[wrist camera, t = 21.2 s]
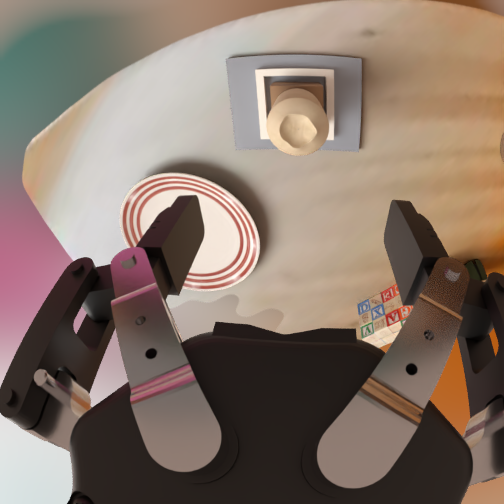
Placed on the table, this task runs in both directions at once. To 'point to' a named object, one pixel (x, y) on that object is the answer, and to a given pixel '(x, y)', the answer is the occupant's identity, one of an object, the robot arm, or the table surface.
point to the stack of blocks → (382, 317)
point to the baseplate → (295, 70)
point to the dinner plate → (215, 224)
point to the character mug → (476, 270)
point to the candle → (297, 123)
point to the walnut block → (280, 87)
